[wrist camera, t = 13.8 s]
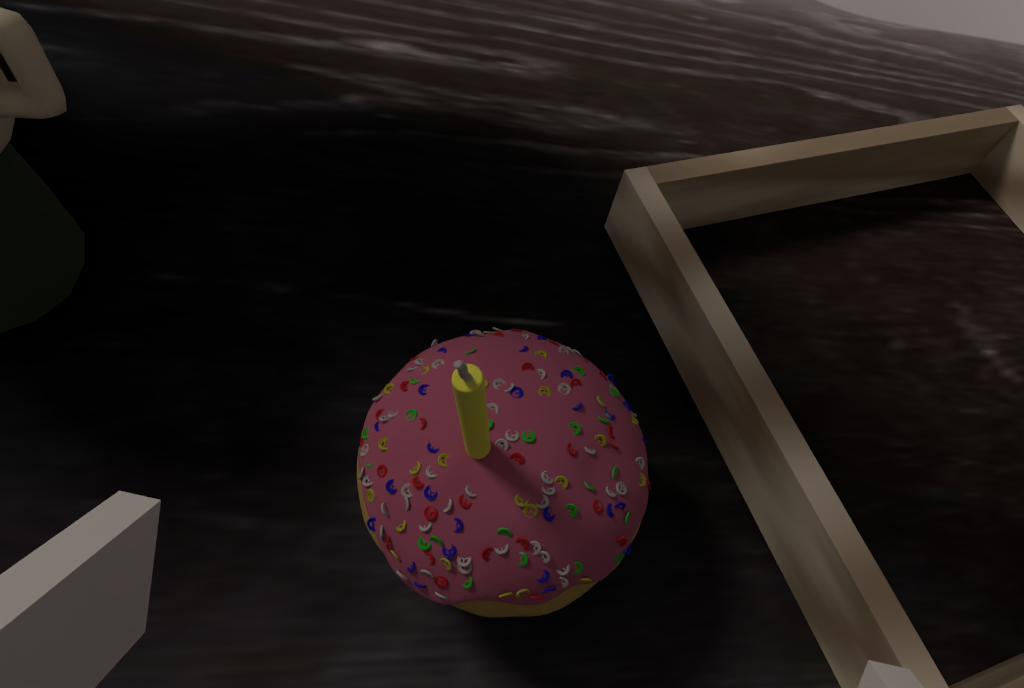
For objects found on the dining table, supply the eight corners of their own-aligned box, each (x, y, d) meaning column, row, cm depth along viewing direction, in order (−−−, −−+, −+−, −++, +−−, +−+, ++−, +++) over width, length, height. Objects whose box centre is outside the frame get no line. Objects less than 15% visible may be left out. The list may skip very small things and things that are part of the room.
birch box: (604, 226, 32) (624, 170, 29) (972, 157, 38) (1020, 104, 35) (879, 761, 22) (953, 758, 19) (1324, 550, 27) (1434, 523, 25)
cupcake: (447, 701, 21) (484, 633, 11) (318, 472, 24) (252, 252, 14) (659, 547, 24) (840, 384, 14) (521, 363, 27) (587, 122, 17)
